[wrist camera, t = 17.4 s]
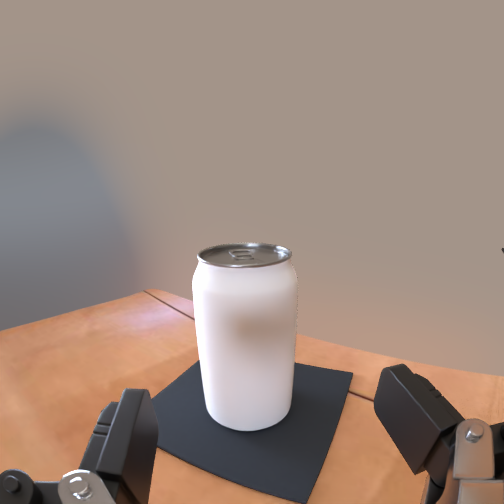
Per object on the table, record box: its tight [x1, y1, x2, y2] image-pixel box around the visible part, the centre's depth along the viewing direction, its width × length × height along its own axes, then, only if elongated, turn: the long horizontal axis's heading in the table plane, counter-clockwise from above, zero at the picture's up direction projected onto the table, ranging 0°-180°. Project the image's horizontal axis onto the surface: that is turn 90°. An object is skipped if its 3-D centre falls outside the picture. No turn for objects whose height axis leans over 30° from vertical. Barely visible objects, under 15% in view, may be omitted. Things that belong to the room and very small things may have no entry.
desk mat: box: [151, 360, 353, 504], centre depth 21 cm, size 14×14×1 cm
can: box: [193, 243, 298, 432], centre depth 19 cm, size 6×6×12 cm
